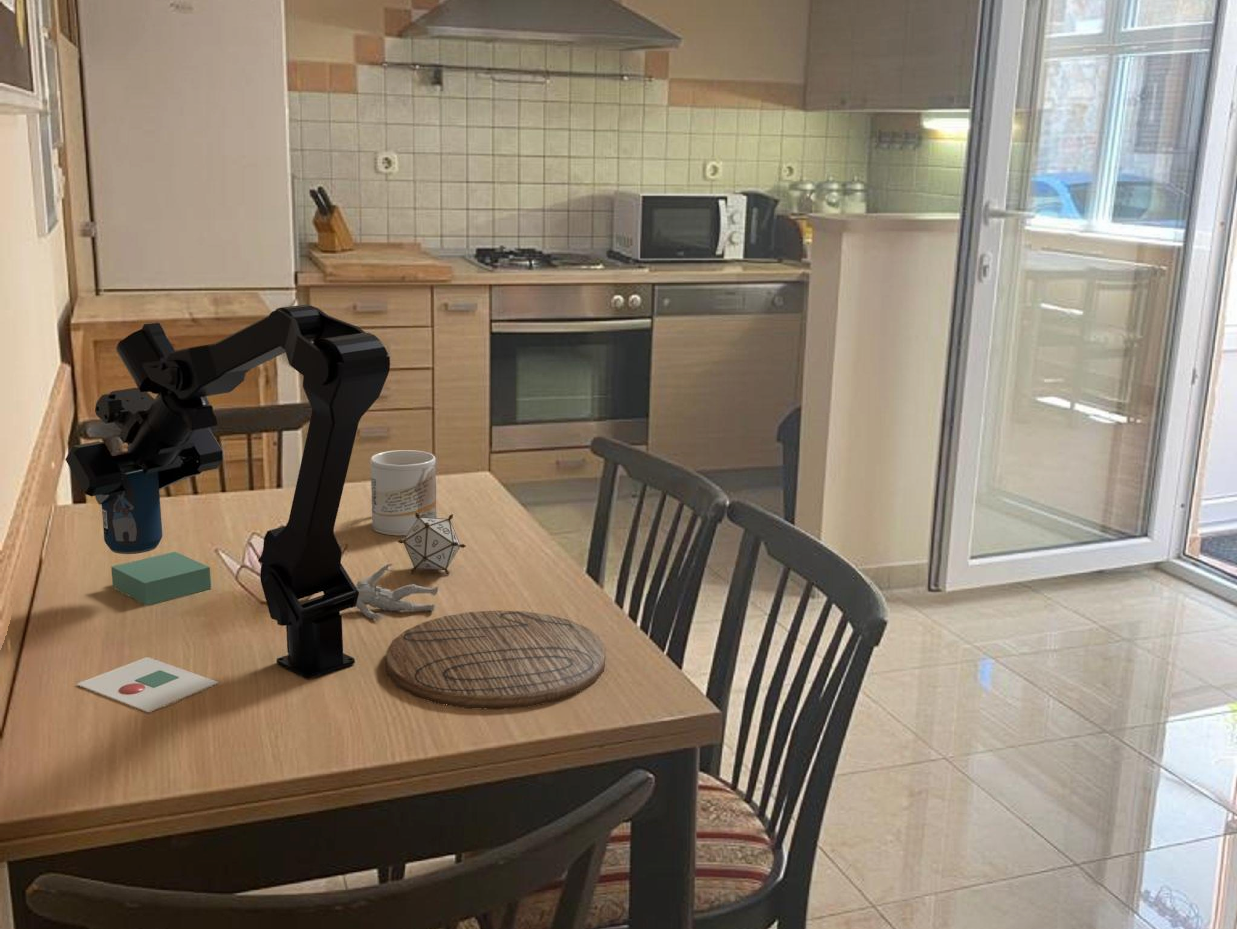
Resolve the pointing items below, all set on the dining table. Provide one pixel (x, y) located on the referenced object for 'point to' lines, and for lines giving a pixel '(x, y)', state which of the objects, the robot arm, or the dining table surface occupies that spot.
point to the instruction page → (147, 684)
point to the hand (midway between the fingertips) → (124, 495)
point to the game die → (432, 543)
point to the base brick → (161, 578)
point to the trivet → (495, 659)
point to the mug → (402, 490)
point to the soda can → (134, 515)
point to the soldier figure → (388, 596)
